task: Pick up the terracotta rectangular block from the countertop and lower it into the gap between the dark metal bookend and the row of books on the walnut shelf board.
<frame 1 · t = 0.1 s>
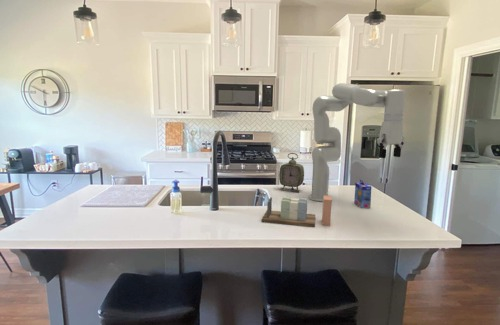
hand: (389, 157, 132), 31 cm above the countertop, tool pointing down, fingers open, 9 cm apart
ink cartridge box: (361, 205, 165), on the countertop
terracotta rectangular block: (326, 222, 137), on the countertop
tabletop clock: (291, 190, 195), on the countertop
walnut shelf: (289, 219, 140), on the countertop
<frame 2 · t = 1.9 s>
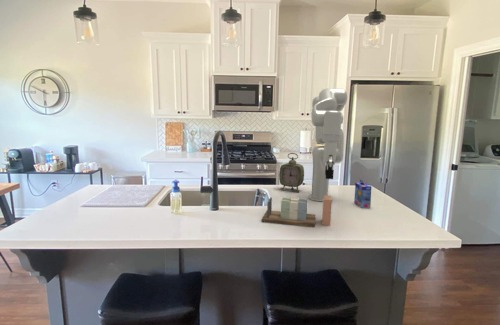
hand: (328, 176, 133), 22 cm above the countertop, tool pointing down, fingers open, 9 cm apart
nothing on the countertop moved.
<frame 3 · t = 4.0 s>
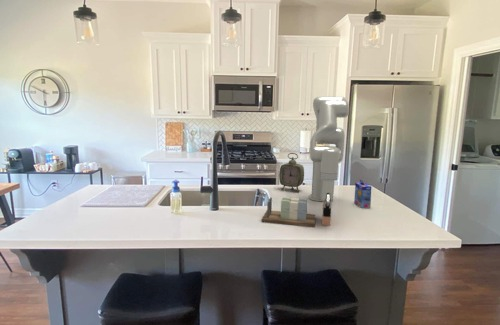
hand: (326, 213, 137), 4 cm above the countertop, tool pointing down, fingers closed on terracotta rectangular block, 7 cm apart
terracotta rectangular block: (326, 222, 137), on the countertop, touching gripper
everything else where it was.
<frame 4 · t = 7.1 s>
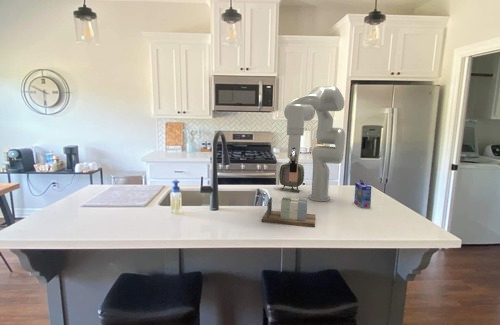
hand: (293, 170, 136), 24 cm above the countertop, tool pointing down, fingers closed on terracotta rectangular block, 7 cm apart
terracotta rectangular block: (293, 179, 137), point 19 cm above the countertop, touching gripper
everything else where it was.
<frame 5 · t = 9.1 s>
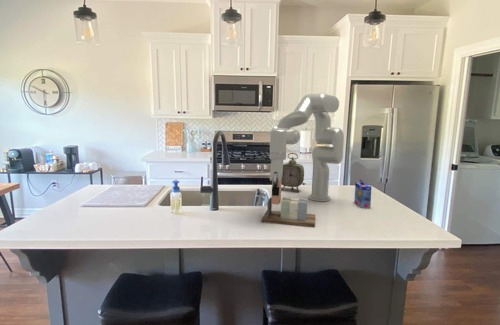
hand: (276, 192, 139), 13 cm above the countertop, tool pointing down, fingers closed on terracotta rectangular block, 7 cm apart
terracotta rectangular block: (276, 202, 140), point 8 cm above the countertop, touching gripper
everything else where it was.
when the fingers open (7 cm above the countertop, at t = 10.7 s): terracotta rectangular block drops 1 cm, resting on walnut shelf.
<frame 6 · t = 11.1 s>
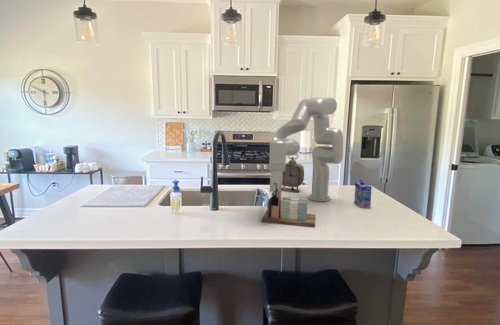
hand: (276, 202, 140), 8 cm above the countertop, tool pointing down, fingers open, 9 cm apart
terracotta rectangular block: (276, 215, 142), point 1 cm above the countertop, touching walnut shelf
everything else where it was.
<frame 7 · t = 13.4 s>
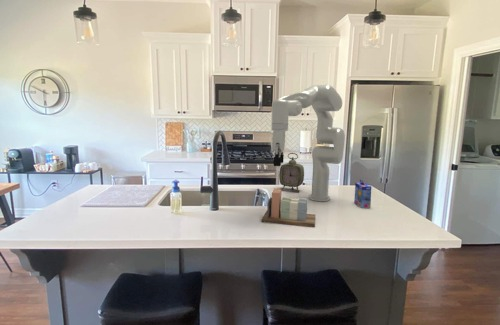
hand: (278, 164, 138), 26 cm above the countertop, tool pointing down, fingers open, 9 cm apart
nothing on the countertop moved.
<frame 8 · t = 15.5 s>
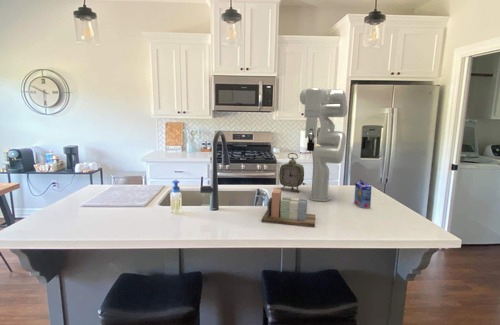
hand: (310, 149, 146), 32 cm above the countertop, tool pointing down, fingers open, 9 cm apart
nothing on the countertop moved.
at the end: terracotta rectangular block 0.3 cm from the target spot on the walnut shelf, point 1.5 cm above the walnut shelf's base; terracotta rectangular block tilted 0°; the gripper is holding nothing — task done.
